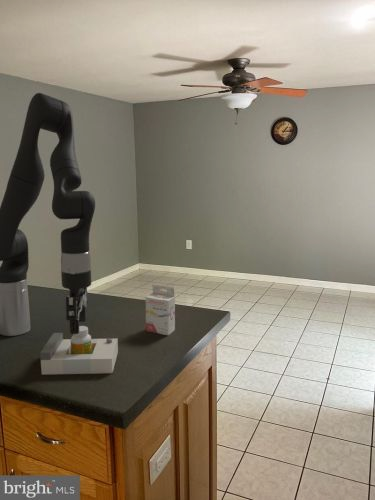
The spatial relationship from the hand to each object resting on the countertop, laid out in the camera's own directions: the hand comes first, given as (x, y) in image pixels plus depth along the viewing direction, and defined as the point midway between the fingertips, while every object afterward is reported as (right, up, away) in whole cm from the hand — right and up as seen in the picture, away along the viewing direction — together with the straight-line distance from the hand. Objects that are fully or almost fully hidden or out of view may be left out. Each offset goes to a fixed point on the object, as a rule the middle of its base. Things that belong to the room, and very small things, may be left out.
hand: (78, 327), depth 113 cm
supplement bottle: (0, -10, +3) cm, 11 cm away
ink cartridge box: (+20, -6, +24) cm, 32 cm away
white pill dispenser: (0, -10, +2) cm, 10 cm away
